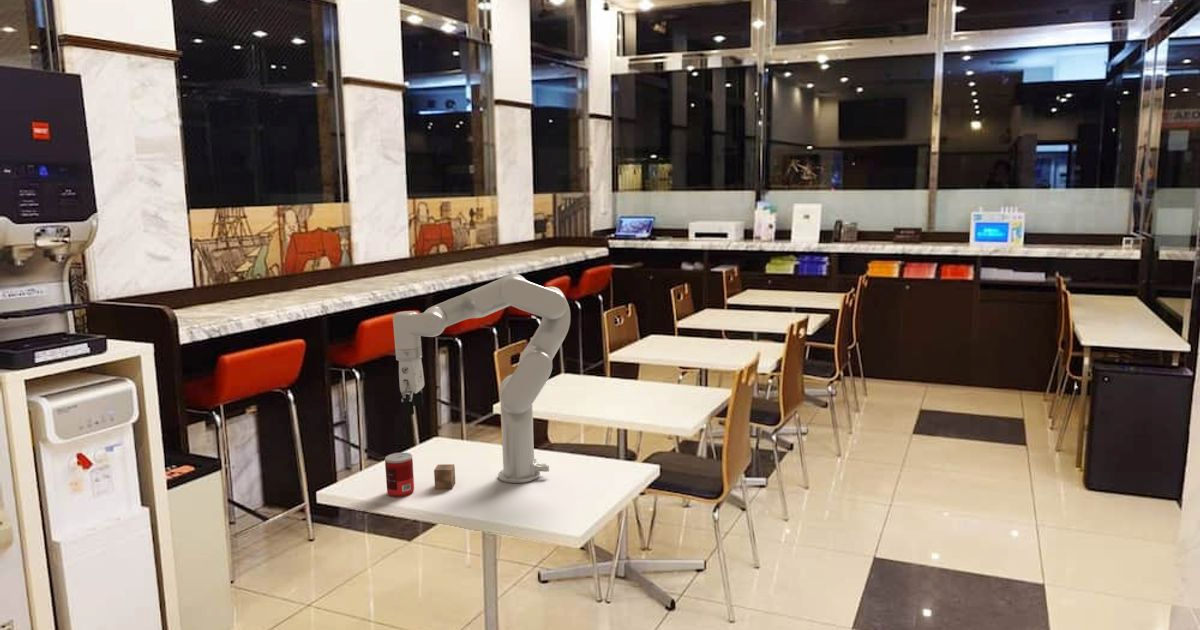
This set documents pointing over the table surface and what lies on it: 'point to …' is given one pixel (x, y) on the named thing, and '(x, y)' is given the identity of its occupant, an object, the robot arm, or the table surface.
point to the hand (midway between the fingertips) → (413, 410)
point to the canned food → (399, 474)
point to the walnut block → (444, 476)
